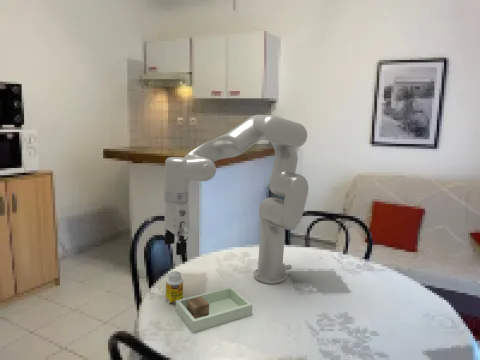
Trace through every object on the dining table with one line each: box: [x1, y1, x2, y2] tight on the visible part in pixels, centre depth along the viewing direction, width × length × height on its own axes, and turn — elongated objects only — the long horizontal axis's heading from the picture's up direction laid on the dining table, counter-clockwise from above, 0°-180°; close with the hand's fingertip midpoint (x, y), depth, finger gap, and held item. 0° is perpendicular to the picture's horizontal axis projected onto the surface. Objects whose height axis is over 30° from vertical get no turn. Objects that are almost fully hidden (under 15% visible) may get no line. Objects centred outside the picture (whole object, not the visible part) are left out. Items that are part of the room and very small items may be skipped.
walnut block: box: [187, 296, 209, 319], centre depth 107 cm, size 5×5×5 cm
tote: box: [175, 286, 253, 334], centre depth 110 cm, size 20×13×4 cm, turn 122°
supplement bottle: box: [165, 270, 184, 306], centre depth 115 cm, size 6×6×10 cm
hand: (175, 248), depth 113 cm, fingers open, 9 cm apart
